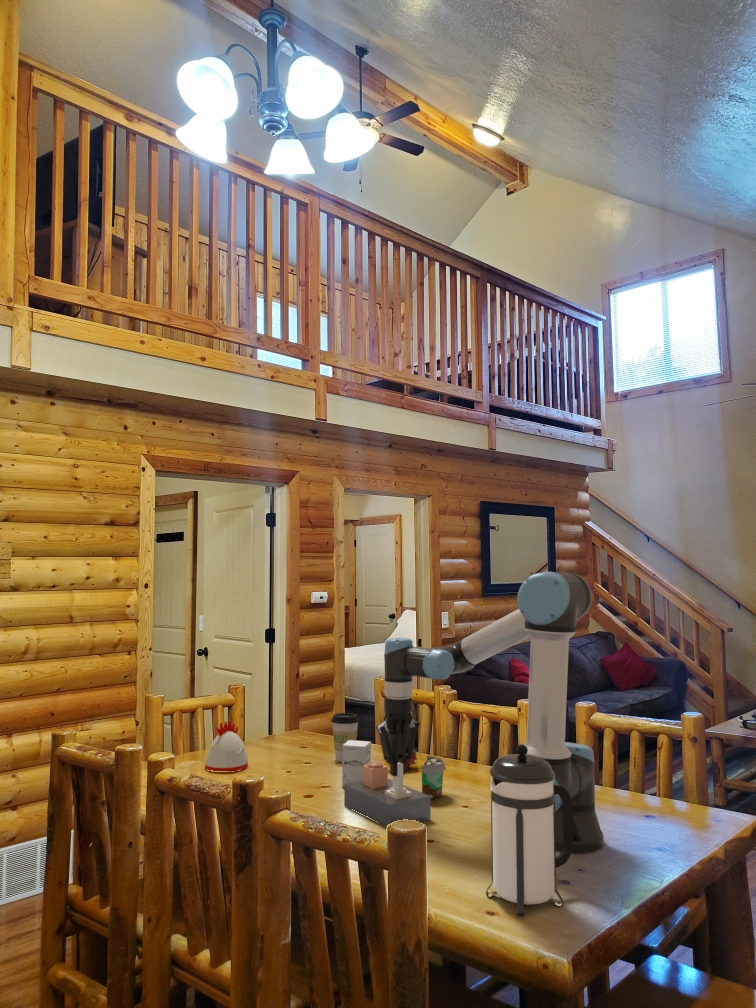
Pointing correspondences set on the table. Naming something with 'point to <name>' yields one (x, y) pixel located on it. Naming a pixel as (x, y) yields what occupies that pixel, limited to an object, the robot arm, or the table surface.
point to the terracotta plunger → (375, 775)
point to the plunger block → (387, 803)
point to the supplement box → (355, 760)
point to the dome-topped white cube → (397, 793)
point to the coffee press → (526, 829)
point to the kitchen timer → (227, 751)
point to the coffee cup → (343, 731)
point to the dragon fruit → (410, 761)
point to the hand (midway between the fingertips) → (397, 787)
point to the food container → (433, 777)
